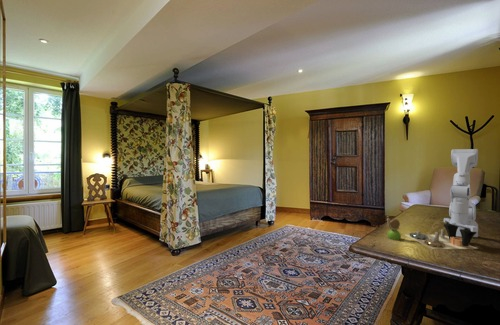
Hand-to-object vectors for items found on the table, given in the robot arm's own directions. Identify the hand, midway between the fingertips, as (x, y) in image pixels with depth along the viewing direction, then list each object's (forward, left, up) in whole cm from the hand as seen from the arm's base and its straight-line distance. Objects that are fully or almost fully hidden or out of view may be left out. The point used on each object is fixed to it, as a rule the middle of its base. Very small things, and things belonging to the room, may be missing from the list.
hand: (458, 242), depth 106 cm
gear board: (+6, -4, -2) cm, 7 cm away
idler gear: (0, 0, -1) cm, 1 cm away
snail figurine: (+25, -7, -2) cm, 26 cm away
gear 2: (+11, +1, -1) cm, 12 cm away
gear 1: (+11, -9, -1) cm, 15 cm away
